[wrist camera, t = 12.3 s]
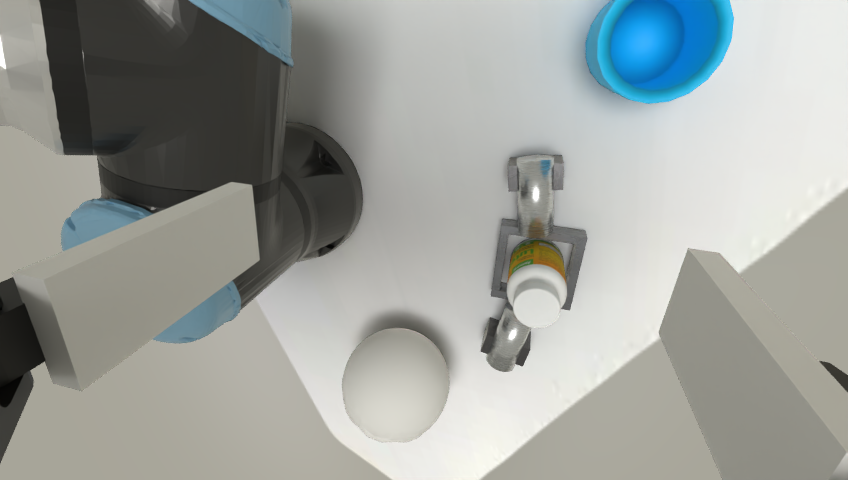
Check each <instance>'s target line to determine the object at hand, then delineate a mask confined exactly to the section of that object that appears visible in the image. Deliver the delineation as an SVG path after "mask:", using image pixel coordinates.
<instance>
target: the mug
mask: <svg viewBox="0 0 848 480" xmlns="http://www.w3.org/2000/svg"><path fill="white" fill-rule="evenodd" d="M733 22H734V17H733V12H732V8H731V4H730V0H611V1H610V2H609V3H608V4H607V5H606V6H605V7H604V8H603V9H602V10H600V12H599V14H598V15H597V17H596V18H595V20H594V21H593V23H592V25H591V27H590V30H589V33H588V37H587V40H586V60H587V63H588V66H589V69H590V72H591V74H592V75H593V76H594V78H595V79H596V80H597V81H598V83H599V84H601V85H602V86H604V87H606V88H607V89H609V90H611V91H612V92H614V93H617V94H619V95H621V96H623V97H625V98H627V99H629V100H633V101H638V102H643V103H648V104H650V103H659V102H668V101H671V100H674V99H676V98H679V97H681V96H684V95H686V94H689V93H690V92H691V91H693V90H694V89H696V88H697V87H698V86H700V85H701V84H702V83H704V82H705V81H706V80H708V78H709V77H710V76H711V75H712V73H713V72H714V71H715V70H716V68H717V67H718V66H719V65H720V63H721V62H722V61H723V58H724V56H725V54H726V51H727V49H728V47H729V45H730V42H731V39H732V31H733Z"/></svg>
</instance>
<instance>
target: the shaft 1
mask: <svg viewBox="0 0 848 480" xmlns="http://www.w3.org/2000/svg"><path fill="white" fill-rule="evenodd" d="M530 329H531V327H528V326H526V325H524V324H522V323H521V322H520V321H519V320H518V319H517V318H516V316H515V314H514V311H513V307H512V305H511V304H510V302H508V303H507V304H506V307H505V309H504V312H503V315H502V317H501V320H500V321H499V320H496V319H493V318H490V319H489V322H488V324H487V327H486V329H485V332H484V336H483V341H482V346H481V352H483V353H486V354H487V355H486V359H487V362H488V363H489V364H490V365H491V366H492V367H493V368H495V369H496V370H499V371H502V372H509V371H511V370H513V368H514V366H515V364H517V365H520V366H523V365H524V362H525V360H526V358H527V356H528V353H529V351H530V336H531V331H530Z"/></svg>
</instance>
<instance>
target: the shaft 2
mask: <svg viewBox="0 0 848 480" xmlns="http://www.w3.org/2000/svg"><path fill="white" fill-rule="evenodd" d="M508 188H509V192H510V191H518V229H519V234H520V235H522V236H524V237H528V238H543V237H547V236H550V235H551V234H553V215H554V190H563V159H562V155H554V156H550V155H528V156H523V157H518V158H510V160H509V163H508Z"/></svg>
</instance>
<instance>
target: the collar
mask: <svg viewBox="0 0 848 480" xmlns="http://www.w3.org/2000/svg"><path fill="white" fill-rule="evenodd" d="M508 234H511V235H518V236H522V235H520V234H519V229H518V221H516V220H509V219H503V220H502V225H501V231H500V238H499V244H498V251H497V258H496V264H495V271H494V278H493V284H492V291H491V296H492V297H498V298H503V299H508V297H507V283H502V282H501V277H502V271H503V265H504V258H505V252H506V246H507V239H508ZM537 239H544V240H551V241H557V242H564V243H571V244H573V249H572V253H571V258H570V262H569V266H568V271H567V275H566V285H567V297H566V301H565V303H564V305H563V306H562V308H561V309H565V310H570V308H571V304H572V300H573V295H574V291H575V287H576V283H577V279H578V275H579V271H580V266H581V262H582V258H583V254H584V250H585V246H586V242H587V235H586V231H585V230H578V229H571V228H564V227H557V226H553V234H551V235H550V236H547V237H543V238H537Z"/></svg>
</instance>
